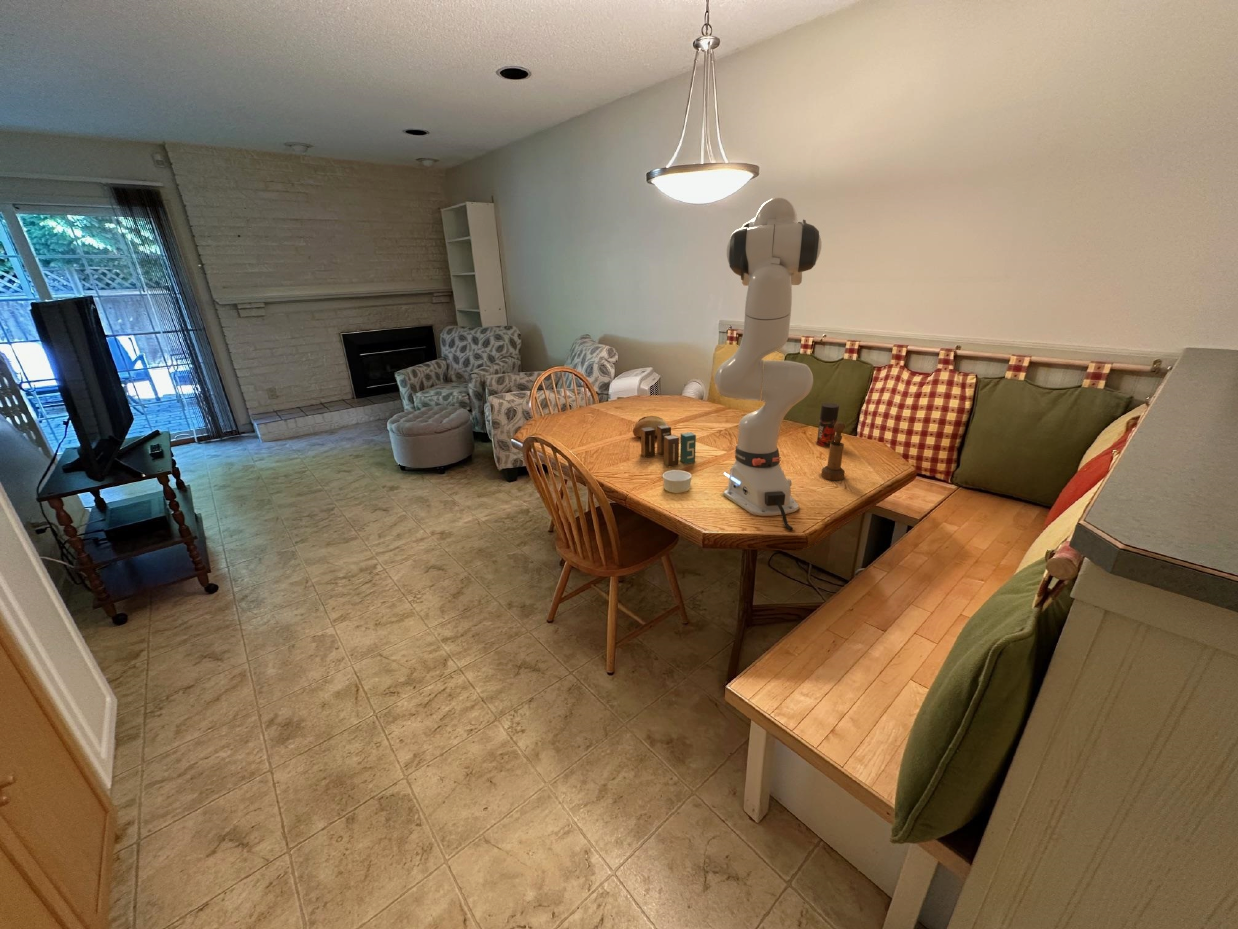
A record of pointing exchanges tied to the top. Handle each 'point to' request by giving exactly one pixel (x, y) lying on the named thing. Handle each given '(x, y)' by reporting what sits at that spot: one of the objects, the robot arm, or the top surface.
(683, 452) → the s tile
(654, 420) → the bread roll
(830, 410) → the deodorant
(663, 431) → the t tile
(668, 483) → the ramekin
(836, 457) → the brown wooden tall figure
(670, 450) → the tile
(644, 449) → the tile
